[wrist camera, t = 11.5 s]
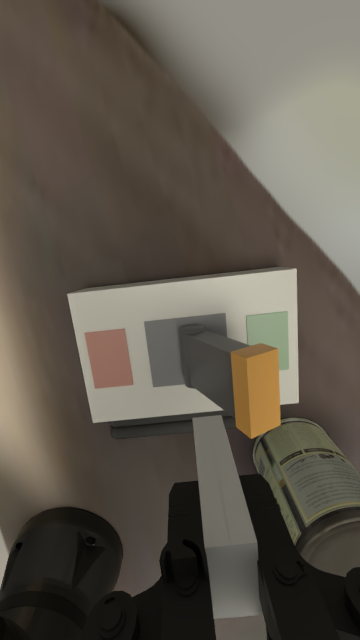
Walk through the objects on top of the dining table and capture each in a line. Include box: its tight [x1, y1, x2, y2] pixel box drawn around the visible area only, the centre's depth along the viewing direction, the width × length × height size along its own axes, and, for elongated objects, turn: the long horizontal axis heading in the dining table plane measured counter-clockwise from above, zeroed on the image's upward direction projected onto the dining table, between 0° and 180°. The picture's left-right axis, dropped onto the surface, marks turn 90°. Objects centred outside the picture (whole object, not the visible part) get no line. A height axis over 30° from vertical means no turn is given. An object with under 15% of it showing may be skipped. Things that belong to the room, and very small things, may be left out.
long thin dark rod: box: [108, 410, 237, 439], centre depth 34 cm, size 18×3×2 cm, turn 96°
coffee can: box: [253, 418, 360, 577], centre depth 29 cm, size 10×10×14 cm
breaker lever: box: [178, 324, 281, 439], centre depth 23 cm, size 3×6×11 cm, turn 6°
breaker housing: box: [67, 267, 299, 423], centre depth 30 cm, size 22×14×5 cm, turn 96°
